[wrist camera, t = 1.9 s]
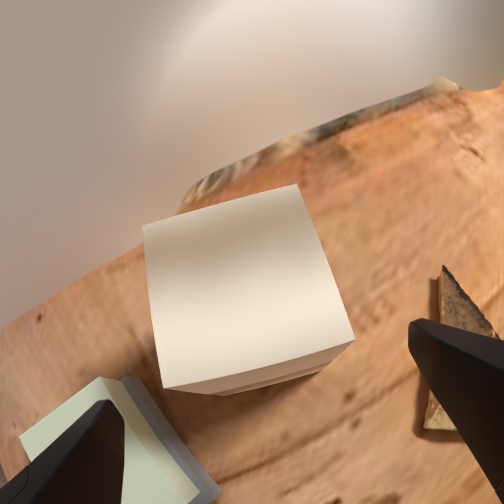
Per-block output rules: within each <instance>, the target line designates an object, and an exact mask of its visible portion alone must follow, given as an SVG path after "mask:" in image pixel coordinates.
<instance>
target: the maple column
mask: <svg viewBox="0 0 504 504" xmlns="http://www.w3.org/2000/svg"><path fill="white" fill-rule="evenodd" d="M143 240H144V253H145V264H146V274H147V284H148V292H149V301H150V309H151V316H152V324H153V331H154V337H155V344H156V350H157V356H158V362H159V368H160V373H161V379H162V384H163V388H164V389H171V390H178V391H185V392H193V393H201V394H210V395H220V396H226V395H231V394H235V393H240V392H244V391H248V390H253V389H257V388H261V387H265V386H269V385H273V384H276V383H280V382H284V381H288V380H291V379H295V378H298V377H302V376H305V375H309V374H312V373H315V372H318V371H322V370H323V369H324V368H325V367H326V366H327V365H328V364H329V363H331V362H332V361H333V360H334V359H335V358H336V357H337V356H338V355H339V354H340V353H341V352H343V351H344V350H345V349H346V348H347V347H348V346H349V345H350V344H351V343H352V342H353V341H354V340H355V338H354V335H353V332H352V329H351V326H350V323H349V320H348V317H347V314H346V311H345V308H344V305H343V302H342V300H341V297H340V294H339V291H338V288H337V286H336V283H335V280H334V277H333V275H332V272H331V269H330V267H329V264H328V261H327V259H326V256H325V253H324V251H323V248H322V245H321V243H320V240H319V238H318V235H317V233H316V230H315V227H314V225H313V222H312V220H311V217H310V215H309V212H308V210H307V208H306V205H305V203H304V200H303V198H302V195H301V193H300V191H299V188H298V186H297V184H294V185H290V186H285V187H281V188H277V189H273V190H269V191H265V192H261V193H258V194H254V195H250V196H246V197H242V198H238V199H235V200H231V201H227V202H223V203H220V204H216V205H213V206H209V207H205V208H202V209H198V210H195V211H191V212H188V213H184V214H181V215H177V216H174V217H170V218H167V219H164V220H160V221H157V222H154V223H151V224H147V225H144V226H143Z"/></svg>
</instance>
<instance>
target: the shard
mask: <svg viewBox="0 0 504 504" xmlns="http://www.w3.org/2000/svg"><path fill="white" fill-rule="evenodd" d="M438 283H439V294H438V296H439V309H440V313H439V314H440V323H442V324H445V325H449V326H452V327H456V328H460V329H463V330H467V331H471V332H474V333H478V334H482V335H485V336H489V337H493V338H496V339H500V337H499V336H498V334H497V333H496V332H495V330H494V328H493V327H492V325H491V323H490V322H489V321H488V319H487V318H486V317H485V315H484V314H483V313H482V312H481V310H480V309H479V307H478V306H477V305H476V304H475V303H474V302H473V300H472V299H471V298H470V297H469V296H468V295H467V294H466V293H465V292H464V290H463V289H462V288H461V287H460V285H459V284H458V282H457V281H456V280H455V278H454V276H453V275H452V274H451V273H450V272H449V271H448V269H447V268H446V267H445V265H442V270H441V274H440V276H439V277H438ZM500 340H501V339H500ZM428 402H429V403H428V407H427V410H426V413H425V422H424V427H423V428H425V429H446V430H457V429H456V427H455V426H454V424H453V423H452V421H451V420H450V418H449V417H448V415H447V414H446V412H445V411H444V409H443V408H442V406H441V405H440V403H439V402H438V400H437V399H436V397H435V396H434V395H433V393H432V391H431V390H430V389H429V399H428Z"/></svg>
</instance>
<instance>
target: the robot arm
mask: <svg viewBox="0 0 504 504" xmlns="http://www.w3.org/2000/svg"><path fill="white" fill-rule="evenodd" d="M408 348H409V351H410V353H411V355H412V357H413V359H414V360H415V362H416V364H417V366H418V368H419V370H420V371H421V373H422V375H423V377H424V379H425V381H426V383H427V385H428V386H429V388H430V390H431V391H432V393H433V395H434V396H435V397H436V399H437V400H438V402H439V403H440V405H441V406H442V408H443V409H444V411H445V412H446V414H447V415H448V417H449V418H450V420H451V421H452V423H453V424H454V426H455V427H456V429H457V430H458V432H459V433H460V435H461V436H462V438H463V440H464V441H465V443H466V444H467V446H468V447H469V449H470V451H471V452H472V454H473V455H474V457H475V459H476V460H477V462H478V463H479V465H480V467H481V468H482V470H483V472H484V473H485V475H486V477H487V478H488V480H489V482H490V483H491V485H492V487H493V488H494V489H495V492H496V494H497V496H498V497H499V499H500V501H501V503H502V504H504V340H500V339H496V338H493V337H489V336H485V335H482V334H478V333H474V332H471V331H467V330H463V329H460V328H456V327H452V326H449V325H445V324H442V323H438V322H435V321H431V320H427V319H424V318H419V319H417V320H414V321H412V322H410V323H409V327H408ZM124 463H125V422H124V419H123V417H122V415H121V414H120V412H119V411H118V409H117V408H116V406H115V405H114V403H113V402H112V401H111V400H110V399H104V400H98V401H97V402H95V403H94V404H93V405H92V406H91V407H90V408H89V409H88V410H87V411H86V412H85V413H84V414H83V415H81V416H80V417H79V418H78V419H77V420H76V421H75V422H74V423H73V424H72V425H71V426H70V427H68V428H67V429H66V430H65V431H64V432H63V433H62V434H61V435H60V436H59V437H58V438H57V439H56V440H54V441H53V442H52V443H51V444H50V445H49V446H48V447H47V448H46V449H45V450H44V451H42V452H41V453H40V454H39V455H38V456H37V457H36V458H35V459H34V460H33V461H32V462H31V463H29V465H28V466H26V467H25V468H24V469H23V470H22V471H21V472H20V473H18V474H17V475H16V476H15V477H14V478H13V479H12V480H10V481H9V482H8V483H7V484H6V485H4V486H3V487H2V488H0V504H121V500H122V487H123V476H124Z"/></svg>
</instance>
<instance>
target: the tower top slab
mask: <svg viewBox="0 0 504 504" xmlns="http://www.w3.org/2000/svg"><path fill="white" fill-rule="evenodd" d="M104 399H110V400H111V401H112V402H113V403H114V405H115V406H116V408H117V409H118V411H119V412H120V414H121V415H122V417H123V419H124V422H125V463H124V476H123V487H122V500H121V504H188V503H189V502H190V501H191V500H192V499H193V498H194V497H196V496H197V495H198V494H199V493H200V491H199V490H198V488H197V487H196V486H195V485H194V484H193V482H192V481H191V480H190V479H189V478H188V476H187V475H186V474H185V473H184V471H183V470H182V469H181V468H180V466H179V465H178V464H177V462H176V461H175V460H174V459H173V457H172V456H171V455H170V453H169V452H168V451H167V449H166V448H165V447H164V445H163V444H162V442H161V441H160V440H159V438H158V437H157V435H156V434H155V433H154V431H153V430H152V428H151V427H150V425H149V424H148V422H147V421H146V420H145V418H144V417H143V415H142V413H141V412H140V410H139V409H138V407H137V406H136V404H135V403H134V401H133V400H132V398H131V396H130V395H129V393H128V392H127V390H126V388H125V387H124V385H123V383H122V382H121V381H119V380H115V379H110V378H106V377H101V376H99V377H98V378H96V379H95V380H94V381H92V382H91V383H90V384H88V385H87V386H86V387H84V388H83V389H82V390H80V391H79V392H78V393H76V394H75V395H74V396H72V397H71V398H70V399H68V400H67V401H66V402H64V403H63V404H62V405H60V406H59V407H58V408H56V409H55V410H54V411H52V412H51V413H50V414H48V415H47V416H46V417H44V418H43V419H42V420H40V421H39V422H38V423H36V424H35V425H34V426H32V427H31V428H30V429H28V430H27V431H26V432H24V433H23V434H22V435H20V436H19V438H20V440H21V442H22V444H23V446H24V449H25V451H26V453H27V455H28V457H29V459H30V461H31V462H32V461H33V460H34V459H35V458H36V457H37V456H38V455H39V454H40V453H41V452H42V451H44V450H45V449H46V448H47V447H48V446H49V445H50V444H51V443H52V442H53V441H54V440H56V439H57V438H58V437H59V436H60V435H61V434H62V433H63V432H64V431H65V430H66V429H67V428H68V427H70V426H71V425H72V424H73V423H74V422H75V421H76V420H77V419H78V418H79V417H80V416H81V415H83V414H84V413H85V412H86V411H87V410H88V409H89V408H90V407H91V406H92V405H93V404H94V403H95V402H97V401H98V400H104Z"/></svg>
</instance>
